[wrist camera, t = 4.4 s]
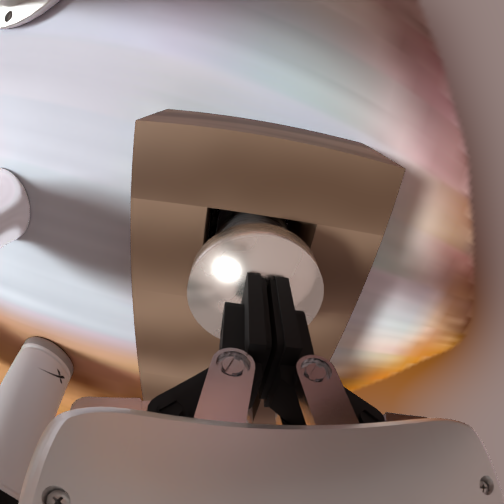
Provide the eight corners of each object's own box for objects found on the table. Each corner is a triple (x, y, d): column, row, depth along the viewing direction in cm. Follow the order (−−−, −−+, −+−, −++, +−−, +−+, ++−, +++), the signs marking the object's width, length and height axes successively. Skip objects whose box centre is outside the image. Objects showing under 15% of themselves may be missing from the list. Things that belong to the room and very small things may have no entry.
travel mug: (74, 347, 27) (7, 531, 9) (74, 382, 30) (26, 538, 12) (22, 324, 25) (-59, 488, 8) (28, 362, 28) (-32, 505, 11)
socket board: (167, 109, 17) (135, 120, 12) (362, 143, 18) (405, 168, 13) (158, 378, 29) (148, 429, 23) (279, 391, 30) (284, 442, 25)
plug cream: (212, 168, 18) (192, 226, 11) (304, 183, 19) (341, 248, 12) (201, 250, 21) (184, 338, 14) (284, 261, 22) (303, 350, 15)
